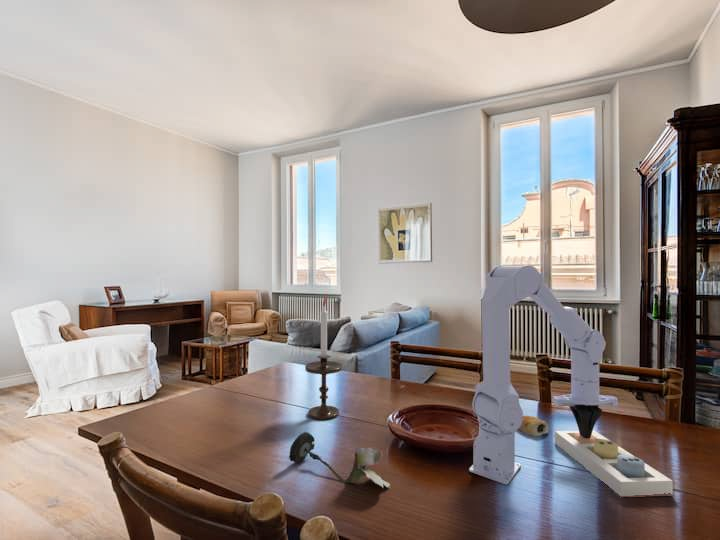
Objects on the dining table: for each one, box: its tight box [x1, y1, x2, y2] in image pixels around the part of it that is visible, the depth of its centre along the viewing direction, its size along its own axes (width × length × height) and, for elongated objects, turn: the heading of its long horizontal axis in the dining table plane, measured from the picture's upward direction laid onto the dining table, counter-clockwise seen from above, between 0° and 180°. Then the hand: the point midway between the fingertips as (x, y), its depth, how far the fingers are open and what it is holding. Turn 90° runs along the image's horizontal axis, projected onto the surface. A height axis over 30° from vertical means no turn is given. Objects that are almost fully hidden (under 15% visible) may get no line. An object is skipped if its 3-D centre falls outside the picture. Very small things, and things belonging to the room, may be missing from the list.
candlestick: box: [305, 296, 343, 421], centre depth 110 cm, size 11×11×35 cm
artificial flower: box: [288, 431, 391, 489], centre depth 77 cm, size 9×22×10 cm, turn 54°
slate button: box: [617, 454, 645, 478], centre depth 73 cm, size 4×4×3 cm
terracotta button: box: [574, 433, 596, 444], centre depth 87 cm, size 4×4×3 cm
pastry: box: [517, 415, 550, 437], centre depth 100 cm, size 9×7×4 cm
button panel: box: [554, 430, 674, 496], centre depth 80 cm, size 22×10×3 cm, turn 2°
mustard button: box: [594, 439, 619, 459], centre depth 80 cm, size 4×4×3 cm
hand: (585, 436), depth 87 cm, fingers closed, pressing on terracotta button
